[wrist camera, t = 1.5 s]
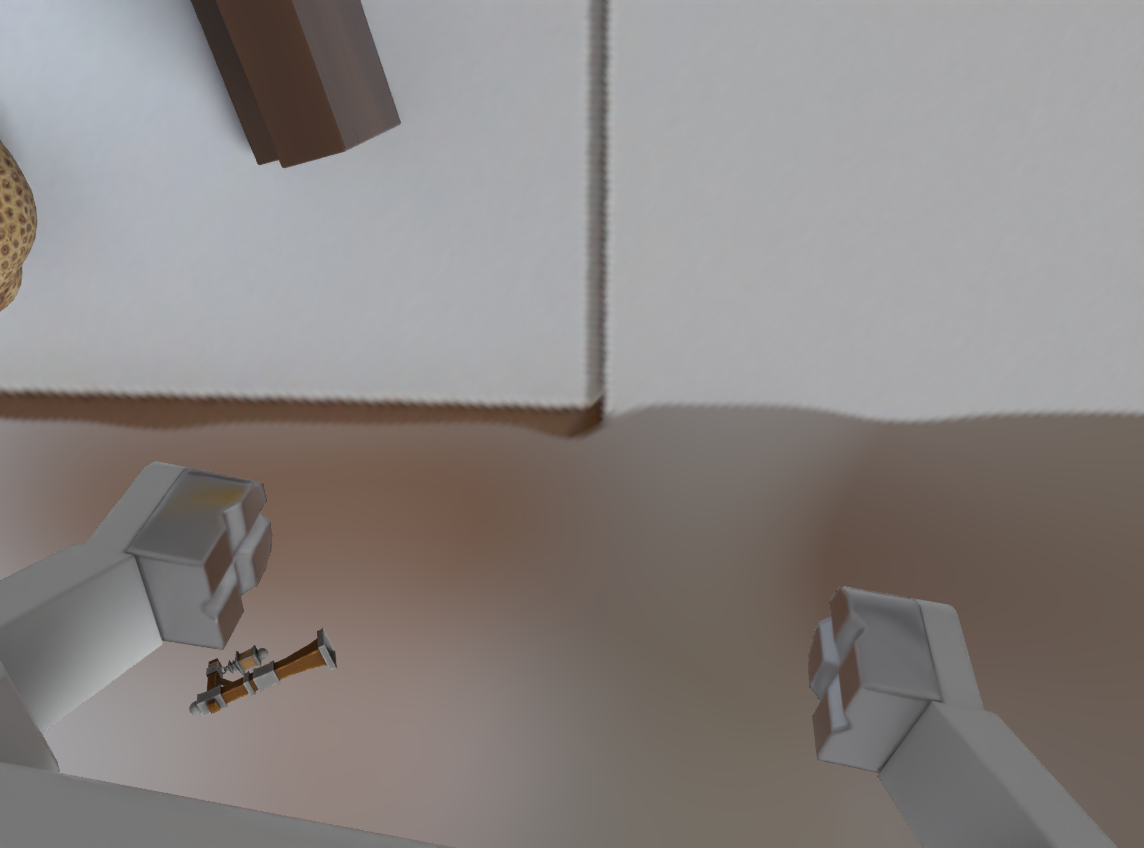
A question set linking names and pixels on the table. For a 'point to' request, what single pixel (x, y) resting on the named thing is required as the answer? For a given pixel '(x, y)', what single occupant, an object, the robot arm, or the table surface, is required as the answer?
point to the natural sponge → (14, 225)
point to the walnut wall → (299, 75)
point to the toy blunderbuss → (259, 673)
